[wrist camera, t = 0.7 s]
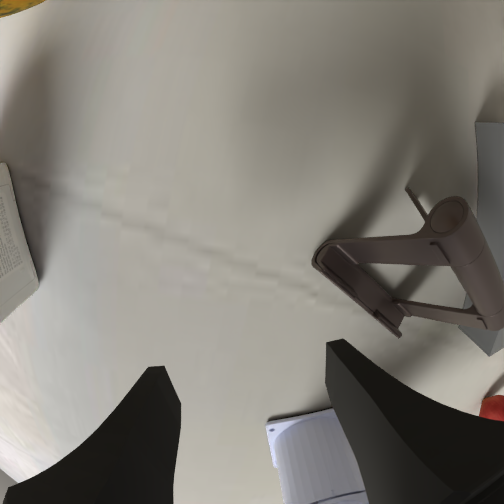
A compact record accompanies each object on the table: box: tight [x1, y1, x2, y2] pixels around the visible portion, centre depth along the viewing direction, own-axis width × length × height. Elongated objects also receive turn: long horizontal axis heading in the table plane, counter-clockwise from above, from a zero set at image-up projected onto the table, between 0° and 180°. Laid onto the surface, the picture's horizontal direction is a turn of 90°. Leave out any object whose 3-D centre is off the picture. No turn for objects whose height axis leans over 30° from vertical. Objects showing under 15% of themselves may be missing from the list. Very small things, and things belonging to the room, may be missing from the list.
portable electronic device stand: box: [312, 188, 504, 338], centre depth 14 cm, size 9×8×8 cm
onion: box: [479, 395, 504, 421], centre depth 24 cm, size 6×6×8 cm
